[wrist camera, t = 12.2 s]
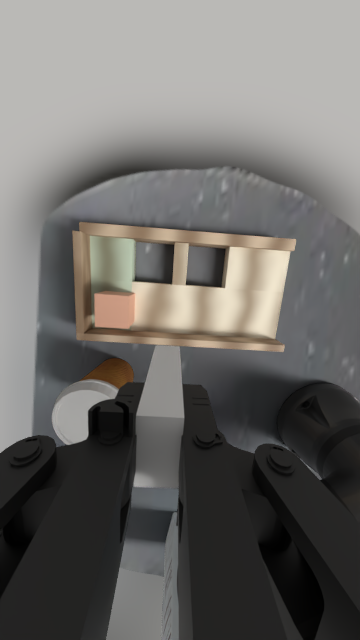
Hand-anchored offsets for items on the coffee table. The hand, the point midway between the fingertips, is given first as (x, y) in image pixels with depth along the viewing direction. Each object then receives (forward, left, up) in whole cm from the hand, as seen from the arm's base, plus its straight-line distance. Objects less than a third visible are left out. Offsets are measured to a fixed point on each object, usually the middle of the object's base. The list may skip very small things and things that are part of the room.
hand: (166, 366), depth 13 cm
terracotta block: (+8, 0, -19) cm, 21 cm away
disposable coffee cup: (+9, +12, -22) cm, 27 cm away
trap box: (-2, -4, -22) cm, 22 cm away
